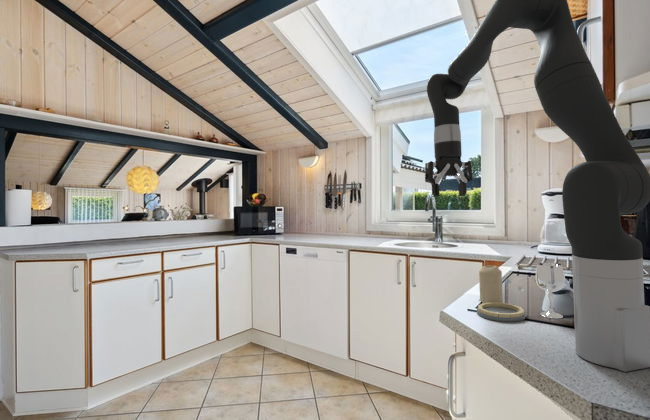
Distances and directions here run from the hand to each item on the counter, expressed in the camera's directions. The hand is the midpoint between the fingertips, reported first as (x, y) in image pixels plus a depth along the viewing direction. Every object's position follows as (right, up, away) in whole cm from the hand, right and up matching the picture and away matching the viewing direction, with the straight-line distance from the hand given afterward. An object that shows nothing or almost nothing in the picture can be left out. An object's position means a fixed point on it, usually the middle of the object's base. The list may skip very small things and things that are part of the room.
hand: (449, 196), depth 101 cm
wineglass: (+16, -29, -22) cm, 39 cm away
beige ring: (+5, -29, -20) cm, 35 cm away
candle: (+8, -29, -9) cm, 32 cm away
